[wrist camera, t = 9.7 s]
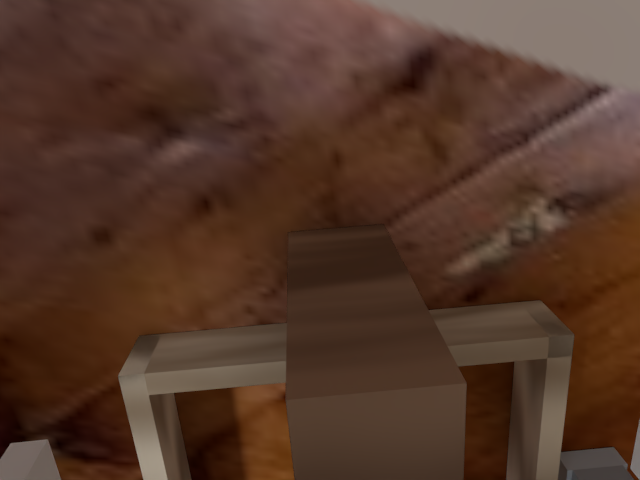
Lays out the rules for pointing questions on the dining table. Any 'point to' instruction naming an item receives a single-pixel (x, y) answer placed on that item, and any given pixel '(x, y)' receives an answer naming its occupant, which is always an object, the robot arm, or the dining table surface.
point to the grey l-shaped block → (593, 465)
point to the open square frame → (361, 371)
